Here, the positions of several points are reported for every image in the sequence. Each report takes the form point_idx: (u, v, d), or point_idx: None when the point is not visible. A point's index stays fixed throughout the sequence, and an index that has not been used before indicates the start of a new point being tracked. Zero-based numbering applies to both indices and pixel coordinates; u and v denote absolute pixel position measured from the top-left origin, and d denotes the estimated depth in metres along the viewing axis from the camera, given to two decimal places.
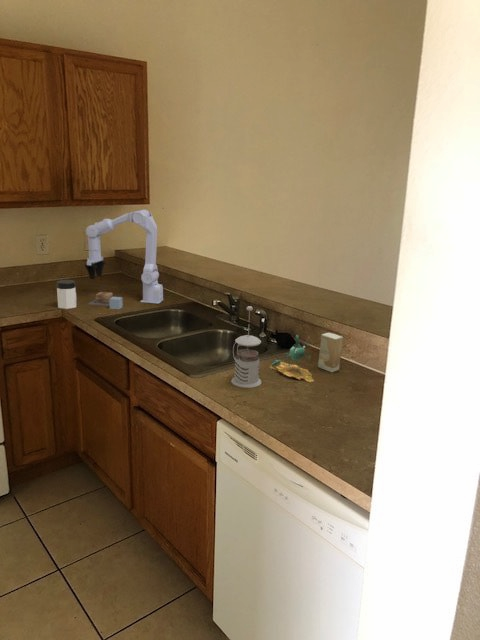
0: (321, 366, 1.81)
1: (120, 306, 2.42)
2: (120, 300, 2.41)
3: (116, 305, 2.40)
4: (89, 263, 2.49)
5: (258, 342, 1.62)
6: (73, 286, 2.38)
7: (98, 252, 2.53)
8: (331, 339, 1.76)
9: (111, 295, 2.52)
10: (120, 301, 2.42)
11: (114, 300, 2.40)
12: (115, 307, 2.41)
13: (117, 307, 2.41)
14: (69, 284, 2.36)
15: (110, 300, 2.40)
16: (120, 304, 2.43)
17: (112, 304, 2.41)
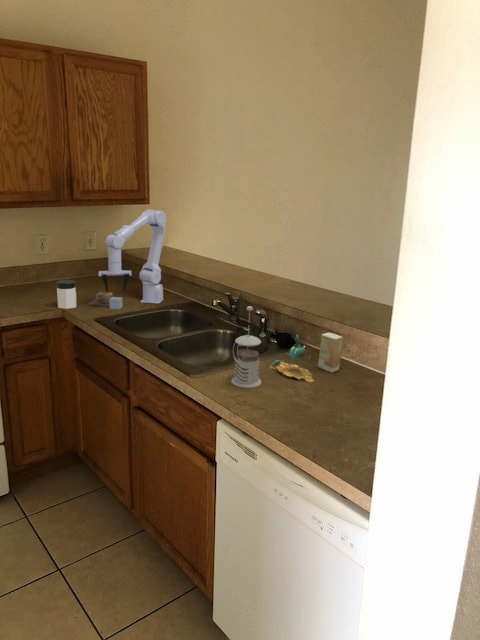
0: (321, 366, 1.81)
1: (120, 306, 2.42)
2: (120, 300, 2.41)
3: (116, 304, 2.40)
4: None
5: (258, 342, 1.62)
6: (73, 286, 2.38)
7: (112, 264, 2.35)
8: (331, 339, 1.76)
9: (111, 295, 2.52)
10: (120, 301, 2.42)
11: (114, 300, 2.40)
12: (115, 307, 2.41)
13: (117, 307, 2.41)
14: (69, 284, 2.36)
15: (110, 300, 2.40)
16: (120, 304, 2.43)
17: (112, 304, 2.41)
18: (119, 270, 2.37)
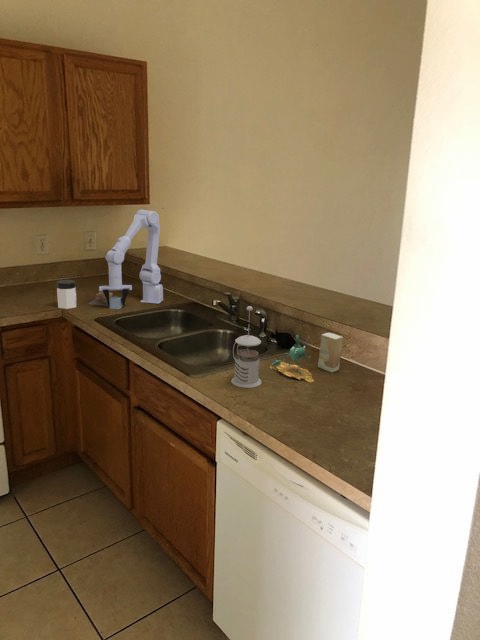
0: (321, 366, 1.81)
1: (120, 306, 2.42)
2: (120, 300, 2.41)
3: (116, 304, 2.40)
4: (99, 288, 2.38)
5: (258, 342, 1.62)
6: (73, 286, 2.38)
7: (112, 279, 2.37)
8: (331, 339, 1.76)
9: (111, 295, 2.52)
10: (120, 301, 2.42)
11: (114, 300, 2.40)
12: (115, 307, 2.41)
13: (117, 307, 2.41)
14: (69, 284, 2.36)
15: (110, 300, 2.40)
16: (120, 304, 2.43)
17: (112, 304, 2.41)
18: (119, 285, 2.39)
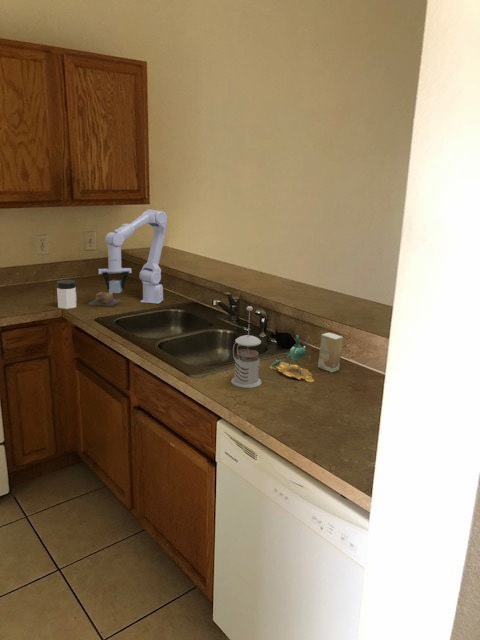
0: (321, 366, 1.81)
1: (120, 289, 2.40)
2: (119, 283, 2.39)
3: (115, 287, 2.38)
4: None
5: (258, 342, 1.62)
6: (73, 286, 2.38)
7: (112, 262, 2.34)
8: (331, 339, 1.76)
9: (111, 295, 2.52)
10: (120, 284, 2.40)
11: (114, 283, 2.38)
12: (115, 290, 2.39)
13: (117, 290, 2.38)
14: (69, 284, 2.36)
15: (109, 283, 2.38)
16: (120, 287, 2.40)
17: (111, 287, 2.38)
18: (119, 268, 2.36)
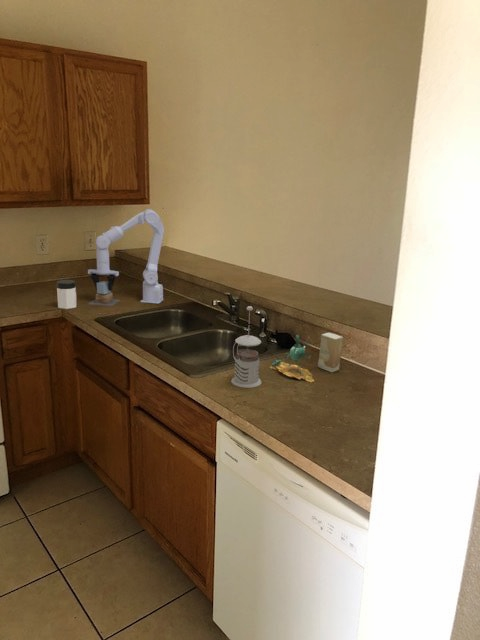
0: (321, 366, 1.81)
1: (106, 290, 2.49)
2: (105, 284, 2.47)
3: (101, 289, 2.47)
4: None
5: (258, 342, 1.62)
6: (73, 286, 2.38)
7: (98, 264, 2.44)
8: (331, 339, 1.76)
9: (111, 295, 2.52)
10: (106, 286, 2.48)
11: (100, 284, 2.47)
12: (101, 291, 2.48)
13: (102, 291, 2.48)
14: (69, 284, 2.36)
15: (97, 284, 2.48)
16: (107, 289, 2.49)
17: (98, 288, 2.48)
18: (104, 270, 2.45)
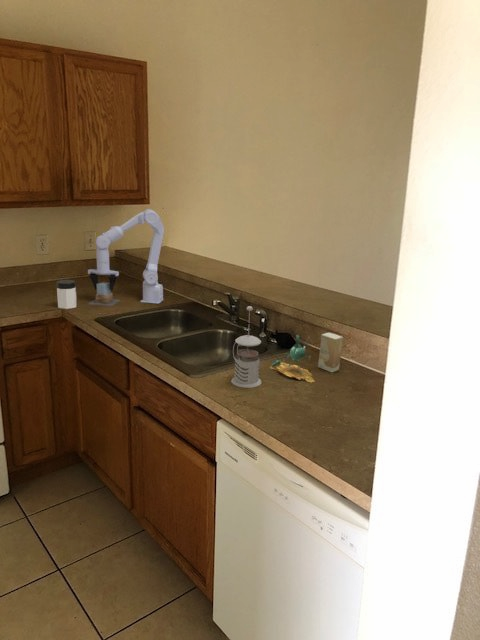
0: (321, 366, 1.81)
1: (106, 292, 2.49)
2: (105, 285, 2.48)
3: (101, 290, 2.48)
4: None
5: (258, 342, 1.62)
6: (73, 286, 2.38)
7: (98, 264, 2.44)
8: (331, 339, 1.76)
9: (111, 295, 2.52)
10: (106, 287, 2.48)
11: (100, 285, 2.47)
12: (101, 292, 2.48)
13: (102, 292, 2.48)
14: (69, 284, 2.36)
15: (97, 285, 2.48)
16: (107, 290, 2.49)
17: (98, 289, 2.48)
18: (104, 270, 2.45)
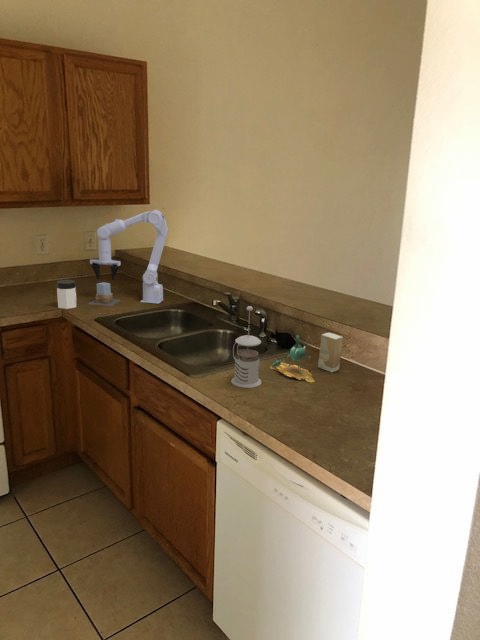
0: (321, 366, 1.81)
1: (106, 292, 2.49)
2: (105, 285, 2.48)
3: (101, 290, 2.48)
4: None
5: (258, 342, 1.62)
6: (73, 286, 2.38)
7: (100, 253, 2.48)
8: (331, 339, 1.76)
9: (111, 295, 2.52)
10: (106, 287, 2.48)
11: (100, 285, 2.47)
12: (101, 292, 2.48)
13: (102, 292, 2.48)
14: (69, 284, 2.36)
15: (97, 285, 2.48)
16: (107, 290, 2.49)
17: (98, 289, 2.48)
18: (106, 259, 2.49)
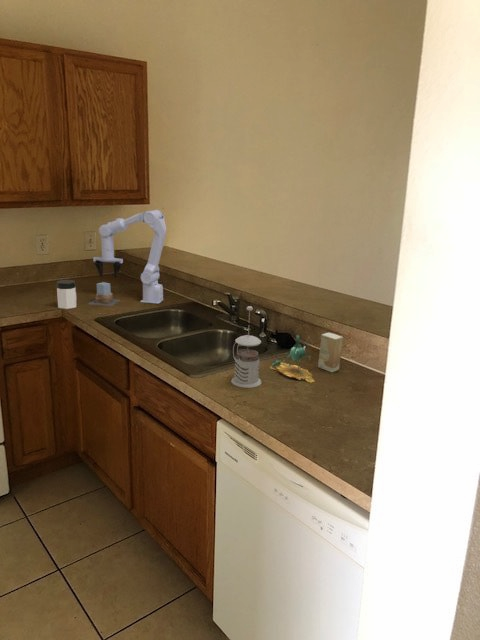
0: (321, 366, 1.81)
1: (106, 292, 2.49)
2: (105, 285, 2.48)
3: (101, 290, 2.48)
4: None
5: (258, 342, 1.62)
6: (73, 286, 2.38)
7: (103, 251, 2.54)
8: (331, 339, 1.76)
9: (111, 295, 2.52)
10: (106, 287, 2.48)
11: (100, 285, 2.47)
12: (101, 292, 2.48)
13: (102, 292, 2.48)
14: (69, 284, 2.36)
15: (97, 285, 2.48)
16: (107, 290, 2.49)
17: (98, 289, 2.48)
18: (109, 257, 2.55)
